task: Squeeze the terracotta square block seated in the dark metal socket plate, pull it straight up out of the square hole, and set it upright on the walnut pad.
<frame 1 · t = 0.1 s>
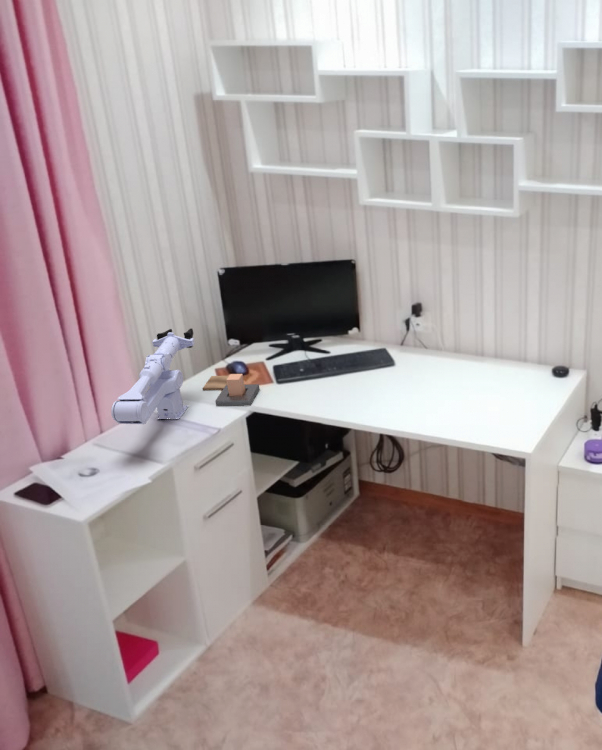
hand: (181, 331, 303), 21 cm above the table, tool horizontal, fingers open, 7 cm apart
walnut pad: (220, 383, 311), on the table
square block: (236, 387, 297), in the socket plate
socket plate: (238, 397, 299), on the table
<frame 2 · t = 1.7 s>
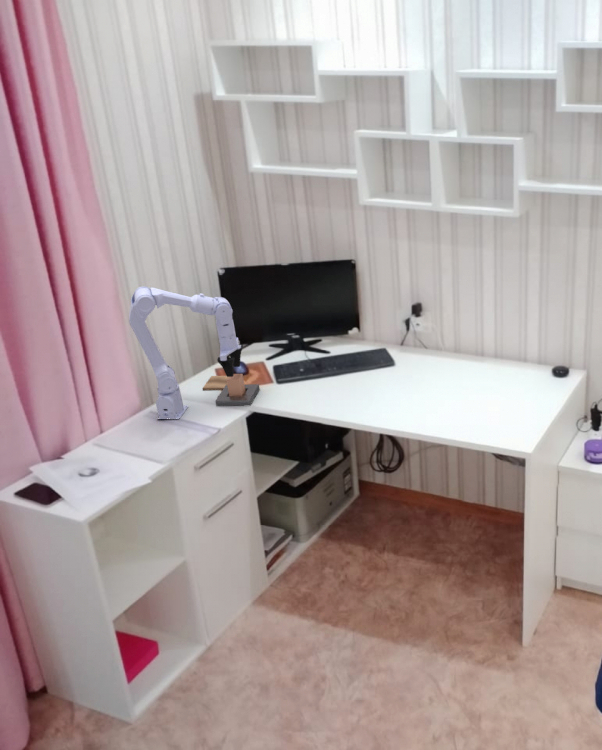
hand: (233, 371, 294), 10 cm above the table, tool pointing down, fingers open, 7 cm apart
nothing on the table moved.
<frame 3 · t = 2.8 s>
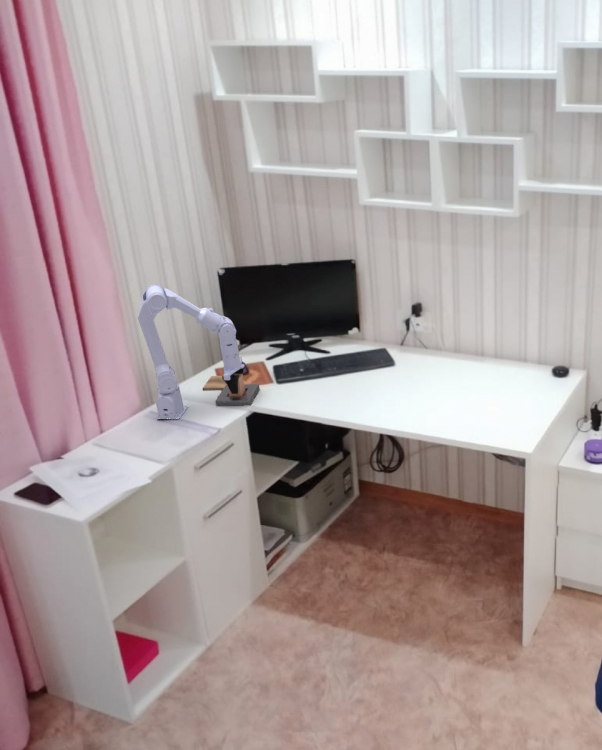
hand: (236, 390, 297), 3 cm above the table, tool pointing down, fingers closed on square block, 4 cm apart
square block: (236, 387, 297), in the socket plate, touching gripper
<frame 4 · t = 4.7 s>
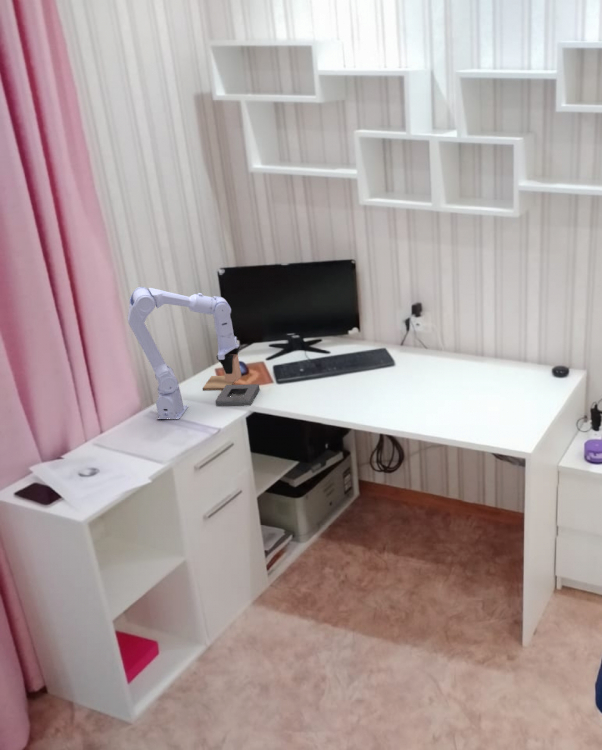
hand: (231, 370, 296), 10 cm above the table, tool pointing down, fingers closed on square block, 4 cm apart
square block: (231, 367, 295), point 11 cm above the table, touching gripper
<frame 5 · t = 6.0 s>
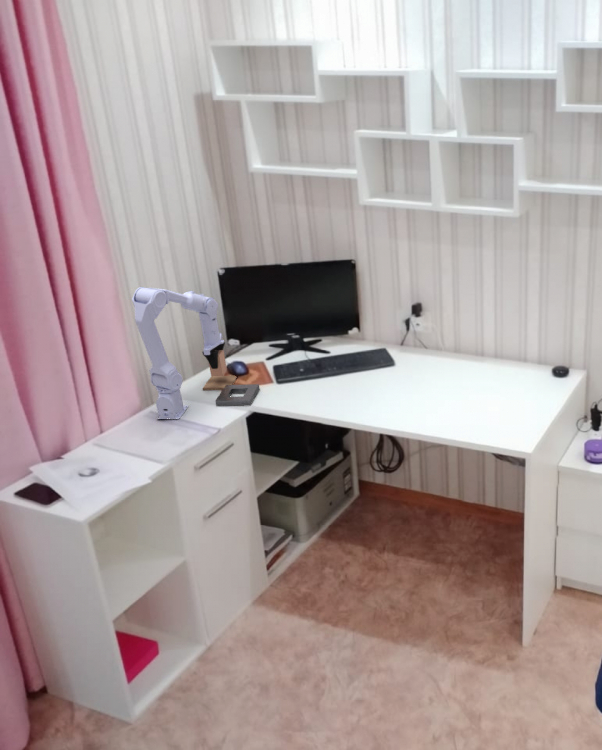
hand: (217, 365, 308), 7 cm above the table, tool pointing down, fingers closed on square block, 4 cm apart
square block: (217, 363, 307), point 8 cm above the table, touching gripper
when the fingers open (5 cm above the table, at t = 6.8 s): square block drops 1 cm, resting on walnut pad.
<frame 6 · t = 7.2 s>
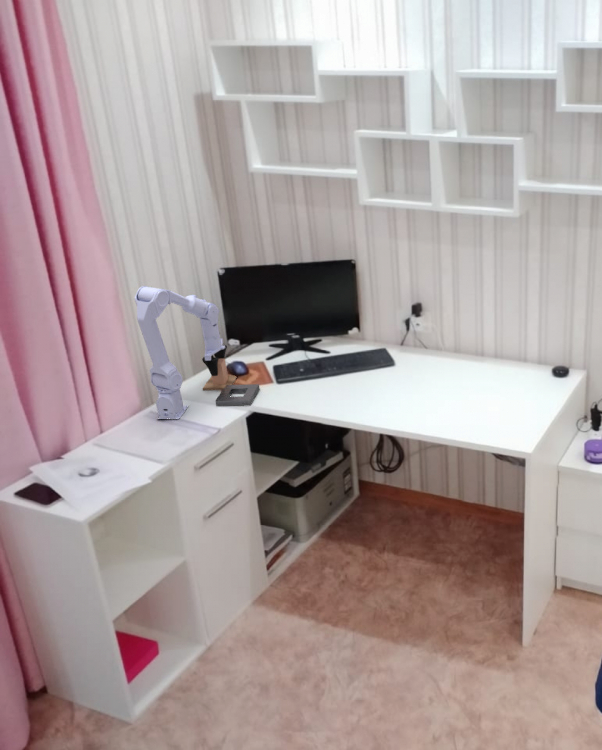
hand: (218, 370, 309), 5 cm above the table, tool pointing down, fingers open, 7 cm apart
square block: (218, 371, 309), on the walnut pad, point 5 cm above the table
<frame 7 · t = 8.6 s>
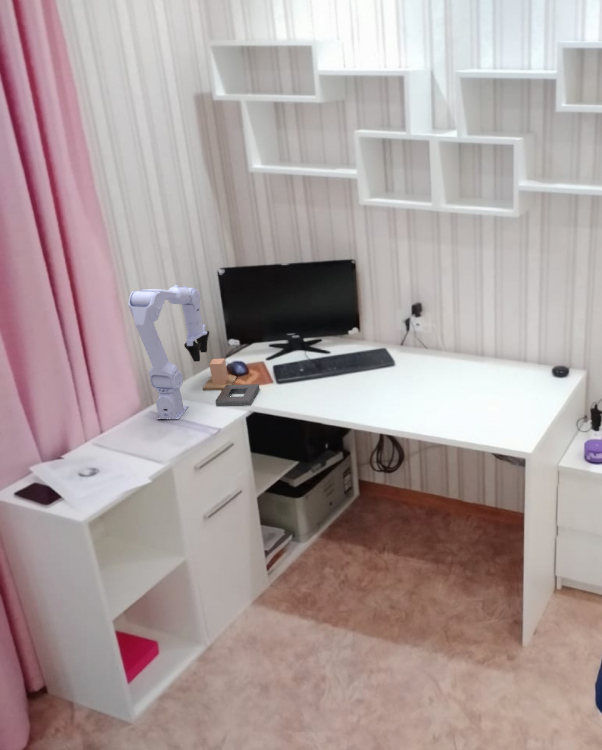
hand: (200, 356, 309), 10 cm above the table, tool pointing down, fingers open, 7 cm apart
nothing on the table moved.
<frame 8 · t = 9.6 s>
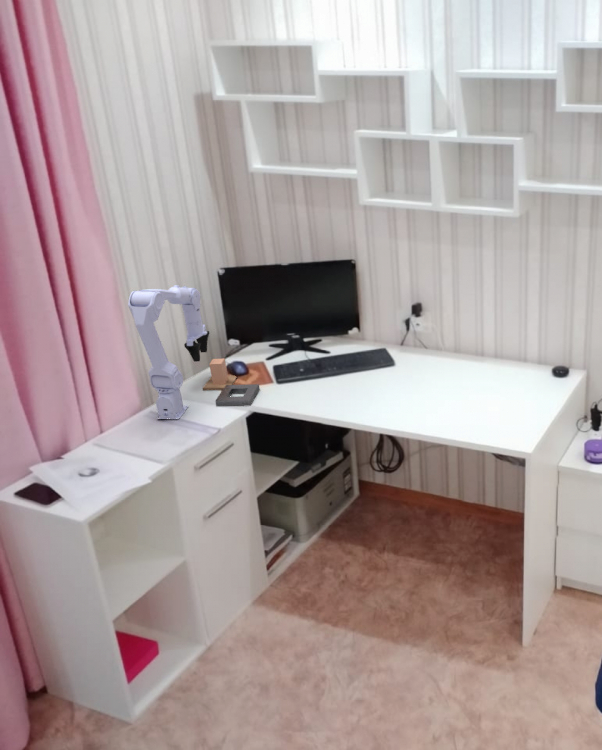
hand: (200, 356, 309), 10 cm above the table, tool pointing down, fingers open, 7 cm apart
nothing on the table moved.
at the end: square block 0.2 cm off-centre on the walnut pad, point 4.8 cm above the walnut pad's base; square block tilted 0°; the gripper is holding nothing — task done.
